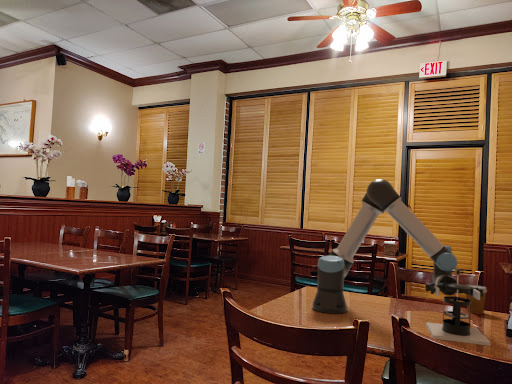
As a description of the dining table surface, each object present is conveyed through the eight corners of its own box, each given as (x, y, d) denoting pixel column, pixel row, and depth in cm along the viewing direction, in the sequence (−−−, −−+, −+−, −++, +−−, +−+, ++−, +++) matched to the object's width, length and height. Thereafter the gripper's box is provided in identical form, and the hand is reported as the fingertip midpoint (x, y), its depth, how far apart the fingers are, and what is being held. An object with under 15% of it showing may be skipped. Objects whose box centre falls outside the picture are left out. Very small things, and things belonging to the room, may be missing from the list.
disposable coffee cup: (491, 314, 178) (492, 288, 178) (475, 315, 175) (475, 288, 176) (474, 309, 187) (475, 284, 188) (458, 309, 184) (459, 284, 185)
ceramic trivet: (433, 338, 137) (433, 335, 137) (426, 325, 154) (426, 322, 154) (490, 345, 132) (490, 342, 132) (476, 331, 149) (476, 328, 149)
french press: (472, 338, 135) (474, 272, 136) (442, 333, 139) (445, 269, 140) (468, 329, 146) (470, 268, 147) (441, 324, 150) (443, 265, 151)
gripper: (480, 297, 157) (496, 308, 137) (414, 290, 164) (421, 300, 144) (480, 278, 158) (496, 287, 137) (415, 273, 165) (421, 280, 144)
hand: (458, 294), depth 140 cm, fingers open, 13 cm apart
